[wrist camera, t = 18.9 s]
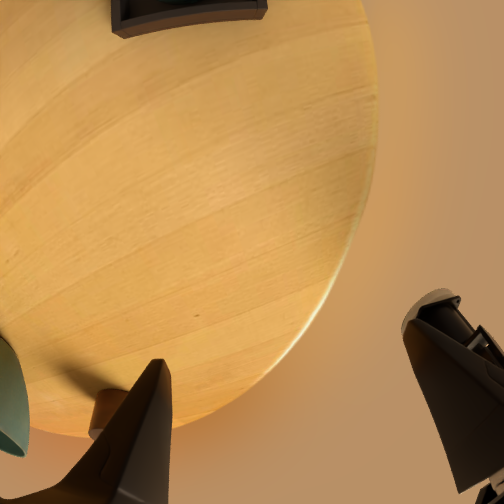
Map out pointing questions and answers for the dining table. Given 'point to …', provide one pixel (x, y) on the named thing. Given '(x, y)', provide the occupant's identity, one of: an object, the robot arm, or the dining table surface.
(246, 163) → the dining table surface
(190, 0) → the teal cylinder
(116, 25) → the dark square tray
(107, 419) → the stand
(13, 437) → the teal bowl
